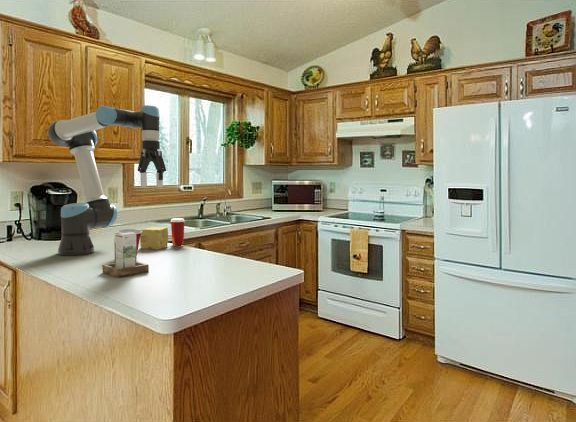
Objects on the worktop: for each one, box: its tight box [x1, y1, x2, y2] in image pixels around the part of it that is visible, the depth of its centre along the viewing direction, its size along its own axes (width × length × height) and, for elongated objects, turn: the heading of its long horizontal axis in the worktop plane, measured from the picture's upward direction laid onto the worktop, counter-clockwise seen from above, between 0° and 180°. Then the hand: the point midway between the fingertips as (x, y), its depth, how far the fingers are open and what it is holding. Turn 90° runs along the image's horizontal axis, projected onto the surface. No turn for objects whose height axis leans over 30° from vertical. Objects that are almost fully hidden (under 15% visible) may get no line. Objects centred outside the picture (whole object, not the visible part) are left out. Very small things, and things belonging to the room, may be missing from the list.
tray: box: [101, 260, 150, 279], centre depth 151 cm, size 12×12×3 cm
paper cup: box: [170, 217, 186, 247], centre depth 214 cm, size 8×8×14 cm
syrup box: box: [113, 232, 137, 269], centre depth 150 cm, size 6×6×14 cm
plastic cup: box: [116, 228, 143, 257], centre depth 181 cm, size 11×11×12 cm
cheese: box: [139, 227, 169, 250], centre depth 205 cm, size 10×11×10 cm
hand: (151, 187), depth 183 cm, fingers open, 13 cm apart
